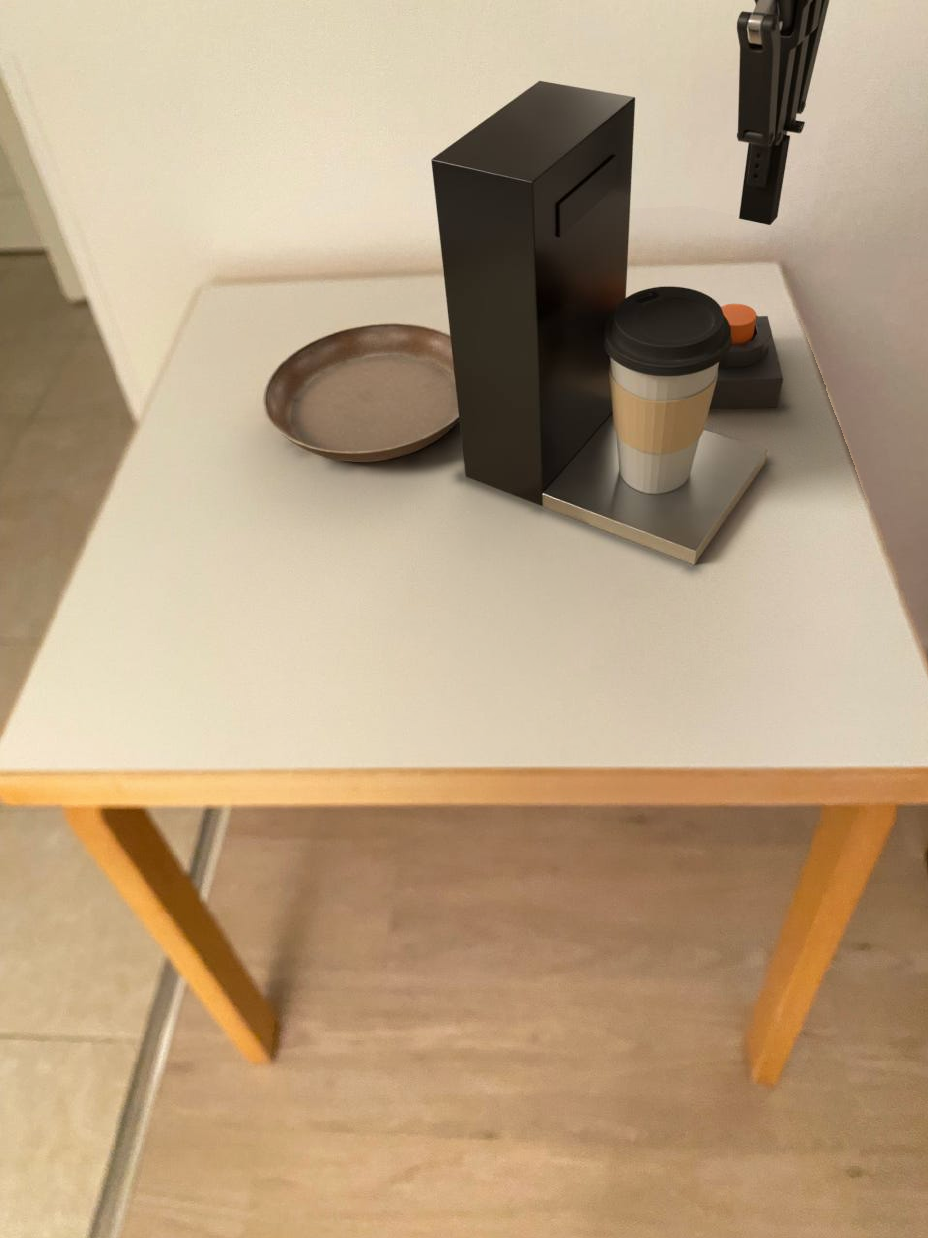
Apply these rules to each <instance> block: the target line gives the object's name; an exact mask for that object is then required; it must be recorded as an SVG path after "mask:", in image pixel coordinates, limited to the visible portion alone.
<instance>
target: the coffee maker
mask: <svg viewBox="0 0 928 1238" xmlns="http://www.w3.org/2000/svg"><path fill="white" fill-rule="evenodd" d="M635 112H636V97H635V96H630V95H626V94H625V95H624V94H619V93H613V92H607V91H602V90H597V89H590V88H585V87H579V86H572V85H568V84H561V83H557V82H556V83H555V82H551V81H550V82H549V81H545V80H544V81H543V80H538V81H536V82H535V83H534V84H532V85H531V86H530V87H528V88H527V89H525V90H524V91H522V92H521V93H520V94H519V95H517V96H516V97H514V98H513V99H512V100H511V101H509V102H508V103H506V104H505V105H504V106H502V107H501V108H499V109H498V110H497V111H495V112H493V114H491V115H490V116H489V117H487V118H486V119H485V120H483V121H481V122H480V123H479V124H477V125H476V126H475V127H473V128H472V129H471V130H469V131H468V132H466V133H465V134H464V135H462V136H461V137H460V138H458V139H457V140H456V141H454V142H453V143H451V144H450V145H449V146H448V147H446V148H445V149H443V150H441V152H439V153H438V154H437V155H435V156H434V157H432V158H431V170H432V179H433V187H434V197H435V207H436V215H437V226H438V235H439V244H440V252H441V262H442V272H443V281H444V290H445V301H446V308H447V310H446V311H447V318H448V327H449V334H450V338H451V347H452V356H453V365H454V375H455V384H456V393H457V402H458V412H459V429H460V430H459V431H460V439H461V447H462V449H461V450H462V457H463V466H464V467H463V468H464V476H465V478H468V479H471V480H474V481H477V482H479V483H482V484H484V485H486V486H489V487H492V488H495V489H497V490H500V491H502V492H505V493H508V494H509V495H513V496H514V497H518V498H521V499H523V500H525V501H528V502H531V503H533V504H536V505H538V506H541V507H543V508H545V509H548V510H551V511H553V512H555V513H558V514H561V515H563V516H567V517H568V518H571V519H574V520H577V521H580V522H582V523H585V524H587V525H590V526H593V527H595V528H596V529H597V528H598V529H600V530H603V531H606V532H608V533H610V534H613V535H615V536H619V537H621V538H623V539H626V540H628V541H631V542H634V543H637V544H639V545H642V546H644V547H647V548H649V549H652V550H654V551H656V552H657V551H658V552H660V553H662V554H665V555H668V556H670V557H673V558H676V559H678V560H680V561H684V562H686V563H689V564H691V565H695V564H696V563H697V561H698V560H699V559H700V557H701V556H702V555H703V553H704V551H705V549H706V548H707V547H708V546H709V544H710V543H711V541H712V540H713V538H714V537H715V536H716V534H717V533H718V531H719V530H720V528H721V527H722V525H723V524H724V522H725V521H726V520H727V519H728V517H729V515H730V514H731V512H732V511H733V509H734V508H735V507H736V505H737V504H738V502H739V501H740V500H741V498H742V497H743V495H744V494H745V492H746V491H747V490H748V488H749V487H750V485H751V483H752V482H753V481H754V479H755V478H756V477H757V475H758V474H759V472H760V471H761V469H762V468H763V466H764V465H765V464H766V458H767V453H768V449H766V448H763V447H760V446H756V445H754V444H750V443H748V442H745V441H741V440H738V439H735V438H731V437H728V436H725V435H722V434H719V433H716V432H713V431H709V430H706V429H704V430H703V433H702V435H701V436H700V439H699V442H698V446H697V450H696V454H695V457H694V461H693V465H692V469H691V473H690V475H689V478H688V479H687V481H686V482H685V483H684V484H683V485H681V486H680V487H678V488H676V489H674V490H672V491H669V492H665V493H660V494H649V493H644V492H641V491H638V490H636V489H634V488H632V487H631V486H630V485H628V484H627V483H626V482H625V481H624V480H623V478H622V476H621V474H620V470H619V460H618V449H617V437H616V432H615V428H614V423H613V411H612V398H611V386H610V374H609V369H610V364H611V361H610V356H609V355H608V353H607V352H606V350H605V348H604V345H603V335H604V332H605V327H606V324H607V321H608V320H609V318H610V317H611V316H612V315H613V314H614V313H615V311H616V309H617V307H618V305H619V304H620V303H621V302H622V301H623V300H624V299H625V298H627V284H628V283H627V281H628V260H629V243H630V242H629V240H630V239H629V238H630V222H631V221H630V220H631V218H630V217H631V195H632V178H633V177H632V174H633V156H634V154H633V153H634V137H635V136H634V133H635V115H636V114H635Z"/></svg>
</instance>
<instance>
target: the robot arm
mask: <svg viewBox="0 0 928 1238" xmlns="http://www.w3.org/2000/svg"><path fill="white" fill-rule="evenodd" d="M754 3H755V7H754V9H753V11H744V10H743V11H741V12H740V13H739V15H738V18H737V21H736V34H737V38H738V45H739V65H738V66H739V67H738V71H739V72H738V106H737V107H738V108H737V109H738V110H737V133H736V139H737V141H738V142H741V143H746V144H748V145H747V153H746V160H745V168H744V175H743V184H742V189H741V190H742V192H741V199H740V207H739V215H738V219H739V220H744V221H748V222H753V223H758V224H763V225H767V226H771V225H772V224H773V223H774V221H776V220H777V218H778V216H779V209H780V203H781V197H782V190H783V183H784V178H785V171H786V165H787V159H788V152H789V147H790V140H791V135H789V134H788V133H794V134H801V133H802V132H803V130H804V127H805V124H806V122H805V121H804V120H803V121H802V120H797V116H798V115H801V114H802V113H803V112H804V111H805V108H806V106H807V100H808V99H807V98H808V94H809V91H810V90H809V89H810V86H811V81H812V77H813V72H814V69H815V64H816V59H817V55H818V52H819V47H820V43H821V39H822V34H823V31H824V24H825V21H826V16H827V12H828V8H829V5H830V0H754ZM797 114H798V115H797Z"/></svg>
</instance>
